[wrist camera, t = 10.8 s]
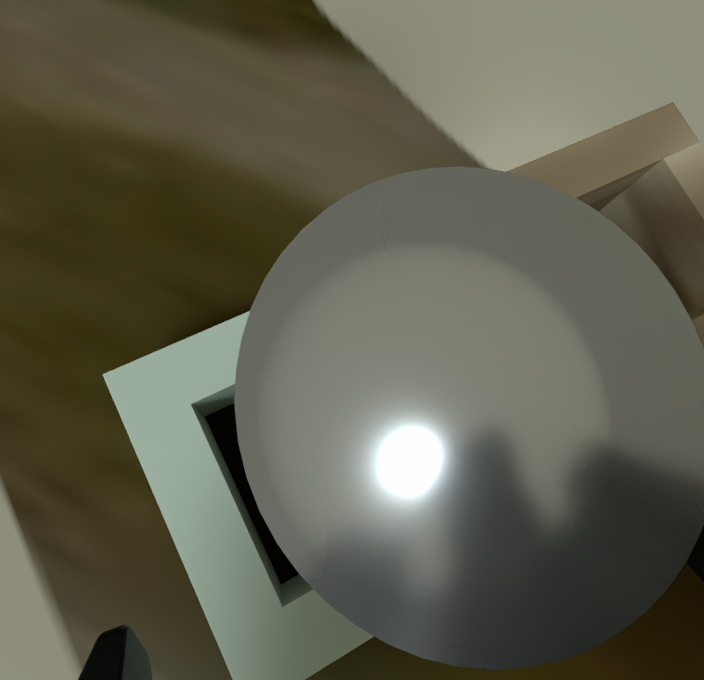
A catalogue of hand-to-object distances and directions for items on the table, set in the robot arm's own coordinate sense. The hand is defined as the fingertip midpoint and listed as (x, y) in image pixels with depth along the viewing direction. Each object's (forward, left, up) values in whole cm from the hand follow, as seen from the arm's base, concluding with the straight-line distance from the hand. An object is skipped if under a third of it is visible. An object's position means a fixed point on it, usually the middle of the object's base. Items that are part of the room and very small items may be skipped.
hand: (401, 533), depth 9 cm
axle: (+2, 0, -8) cm, 8 cm away
